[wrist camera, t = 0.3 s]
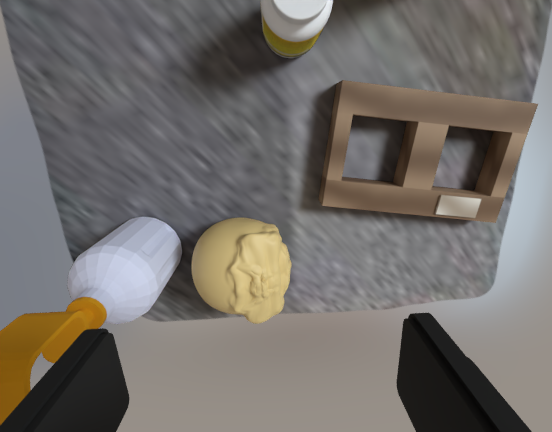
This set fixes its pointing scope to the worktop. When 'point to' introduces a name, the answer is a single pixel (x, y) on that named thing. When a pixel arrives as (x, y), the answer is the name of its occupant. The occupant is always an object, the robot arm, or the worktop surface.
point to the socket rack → (424, 151)
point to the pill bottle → (293, 24)
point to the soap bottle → (91, 300)
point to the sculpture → (242, 268)
